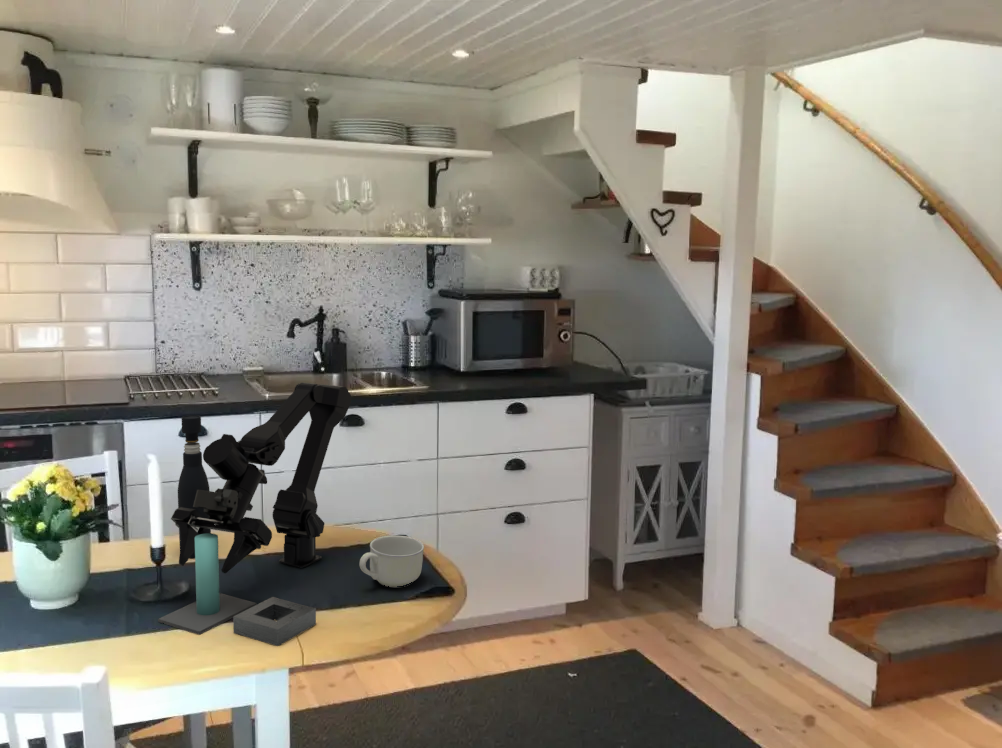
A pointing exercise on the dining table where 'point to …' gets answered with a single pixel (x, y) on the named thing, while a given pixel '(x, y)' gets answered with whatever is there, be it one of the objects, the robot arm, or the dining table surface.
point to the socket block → (265, 629)
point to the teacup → (394, 560)
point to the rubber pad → (202, 623)
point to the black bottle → (192, 469)
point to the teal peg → (207, 574)
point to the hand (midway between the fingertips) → (201, 568)
